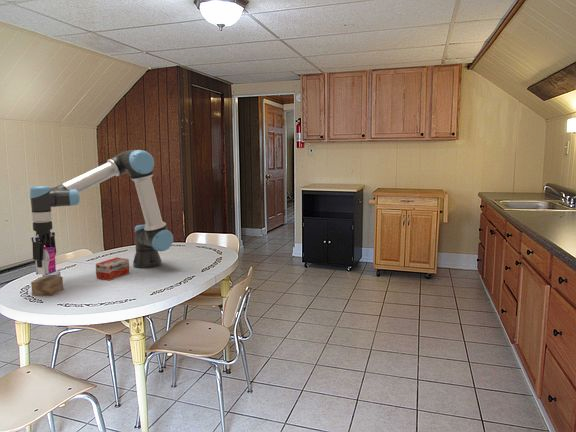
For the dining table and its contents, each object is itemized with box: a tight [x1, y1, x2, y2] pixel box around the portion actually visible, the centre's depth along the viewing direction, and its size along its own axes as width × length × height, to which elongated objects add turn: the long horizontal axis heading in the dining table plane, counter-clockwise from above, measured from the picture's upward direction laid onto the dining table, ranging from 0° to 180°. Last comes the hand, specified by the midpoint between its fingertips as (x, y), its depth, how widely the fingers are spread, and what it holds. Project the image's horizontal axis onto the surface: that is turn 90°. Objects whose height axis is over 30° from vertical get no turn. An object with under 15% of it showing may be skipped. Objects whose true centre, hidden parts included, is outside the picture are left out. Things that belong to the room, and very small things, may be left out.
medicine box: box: [95, 256, 130, 281], centre depth 222 cm, size 15×8×8 cm, turn 159°
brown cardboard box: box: [30, 275, 64, 296], centre depth 196 cm, size 9×9×6 cm
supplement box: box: [34, 246, 57, 276], centre depth 194 cm, size 6×6×12 cm
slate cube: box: [42, 271, 62, 277], centre depth 206 cm, size 6×6×6 cm
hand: (46, 272), depth 195 cm, fingers closed on supplement box, 6 cm apart
